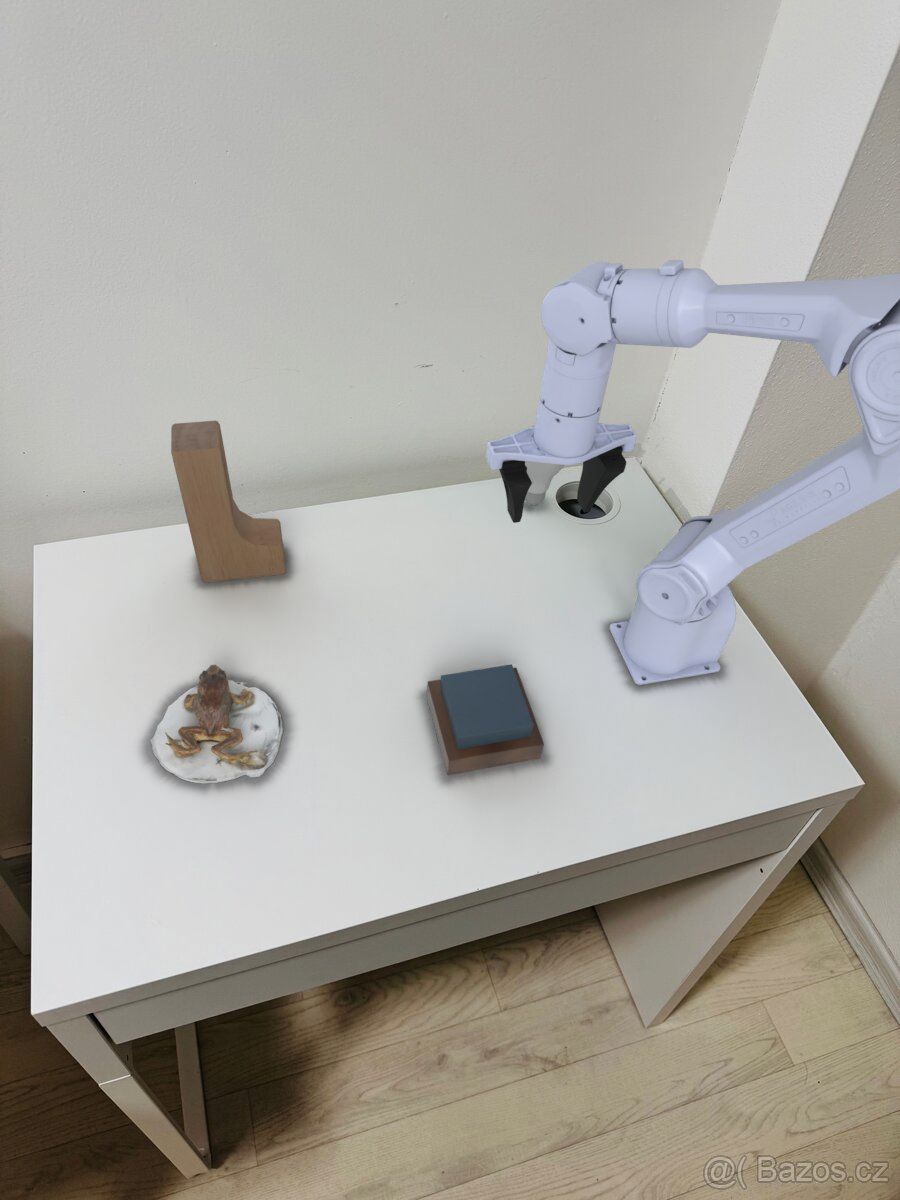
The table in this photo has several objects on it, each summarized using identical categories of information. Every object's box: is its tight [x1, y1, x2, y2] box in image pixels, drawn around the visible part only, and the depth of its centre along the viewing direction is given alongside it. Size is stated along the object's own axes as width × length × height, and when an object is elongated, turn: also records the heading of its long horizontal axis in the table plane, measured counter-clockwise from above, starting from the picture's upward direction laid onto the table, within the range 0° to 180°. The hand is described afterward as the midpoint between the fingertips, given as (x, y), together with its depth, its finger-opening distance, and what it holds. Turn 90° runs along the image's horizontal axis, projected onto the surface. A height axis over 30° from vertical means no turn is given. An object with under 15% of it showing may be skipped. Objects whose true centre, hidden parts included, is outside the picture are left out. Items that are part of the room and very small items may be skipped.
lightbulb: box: [524, 425, 565, 506], centre depth 98 cm, size 6×6×11 cm
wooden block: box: [170, 420, 287, 584], centre depth 86 cm, size 9×4×18 cm, turn 102°
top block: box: [439, 664, 533, 750], centre depth 78 cm, size 7×7×2 cm
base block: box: [425, 667, 545, 776], centre depth 79 cm, size 9×9×2 cm
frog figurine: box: [149, 664, 284, 785], centre depth 77 cm, size 12×12×4 cm
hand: (548, 510), depth 86 cm, fingers open, 7 cm apart
